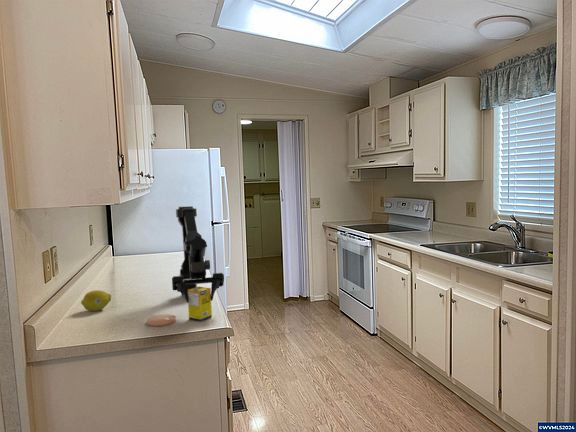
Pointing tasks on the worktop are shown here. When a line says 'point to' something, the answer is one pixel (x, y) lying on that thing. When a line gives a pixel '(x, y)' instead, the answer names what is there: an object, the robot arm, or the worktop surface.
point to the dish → (161, 320)
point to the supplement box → (199, 303)
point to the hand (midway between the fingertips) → (199, 301)
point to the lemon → (96, 300)
